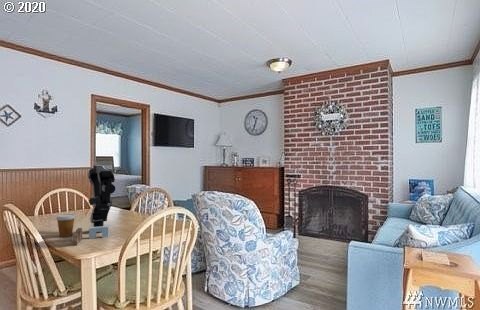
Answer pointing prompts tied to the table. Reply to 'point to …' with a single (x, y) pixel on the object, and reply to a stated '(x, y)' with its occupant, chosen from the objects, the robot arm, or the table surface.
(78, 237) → the notched wooden post
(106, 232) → the notched blue slab
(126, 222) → the table surface
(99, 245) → the table surface
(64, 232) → the disposable coffee cup
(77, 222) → the table surface
